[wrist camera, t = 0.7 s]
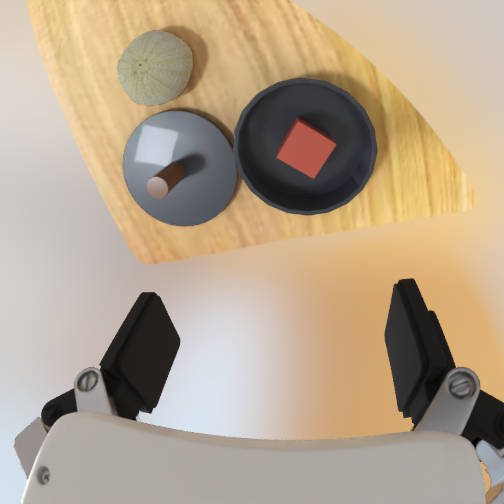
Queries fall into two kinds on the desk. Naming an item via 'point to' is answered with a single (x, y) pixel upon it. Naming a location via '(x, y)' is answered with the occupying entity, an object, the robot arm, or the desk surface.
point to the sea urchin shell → (155, 68)
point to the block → (305, 147)
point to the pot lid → (180, 168)
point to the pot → (274, 131)
